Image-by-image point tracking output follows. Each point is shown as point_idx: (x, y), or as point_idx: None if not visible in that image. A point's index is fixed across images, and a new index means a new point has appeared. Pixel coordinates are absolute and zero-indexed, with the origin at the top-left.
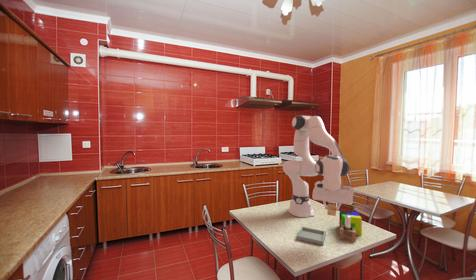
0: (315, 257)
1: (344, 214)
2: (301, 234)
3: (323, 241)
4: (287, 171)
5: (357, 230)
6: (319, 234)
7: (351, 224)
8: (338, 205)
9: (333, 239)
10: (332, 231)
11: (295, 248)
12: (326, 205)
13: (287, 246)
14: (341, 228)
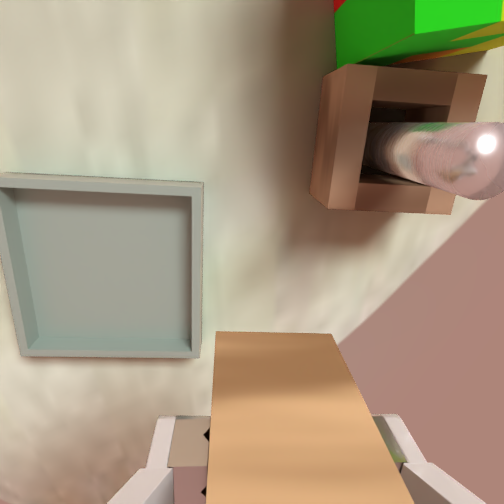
0: None
1: None
2: (34, 274)
3: (200, 323)
4: None
5: (483, 45)
6: (159, 214)
7: (464, 42)
8: (439, 496)
9: (262, 230)
10: (255, 77)
11: (66, 427)
12: (175, 477)
13: (18, 428)
14: (341, 177)
